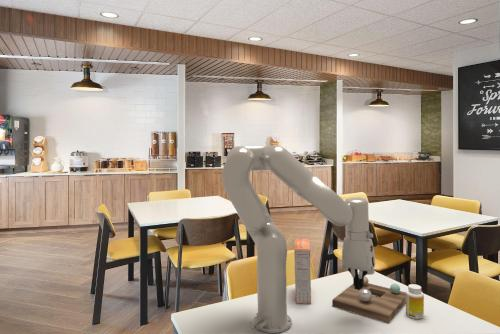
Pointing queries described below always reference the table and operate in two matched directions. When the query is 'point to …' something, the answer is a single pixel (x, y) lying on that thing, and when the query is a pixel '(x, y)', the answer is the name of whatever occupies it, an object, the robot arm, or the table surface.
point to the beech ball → (365, 281)
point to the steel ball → (365, 295)
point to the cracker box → (302, 271)
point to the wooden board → (371, 302)
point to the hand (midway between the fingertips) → (358, 288)
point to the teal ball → (395, 288)
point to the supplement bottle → (414, 302)
